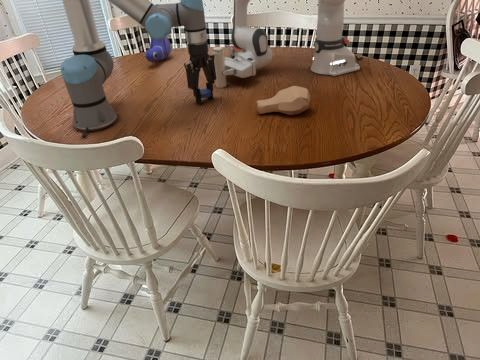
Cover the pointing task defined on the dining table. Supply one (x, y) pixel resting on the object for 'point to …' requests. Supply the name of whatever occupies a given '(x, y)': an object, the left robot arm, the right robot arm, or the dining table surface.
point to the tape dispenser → (235, 50)
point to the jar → (219, 67)
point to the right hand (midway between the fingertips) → (218, 71)
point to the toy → (158, 50)
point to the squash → (286, 101)
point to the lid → (205, 93)
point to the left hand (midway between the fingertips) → (205, 101)
